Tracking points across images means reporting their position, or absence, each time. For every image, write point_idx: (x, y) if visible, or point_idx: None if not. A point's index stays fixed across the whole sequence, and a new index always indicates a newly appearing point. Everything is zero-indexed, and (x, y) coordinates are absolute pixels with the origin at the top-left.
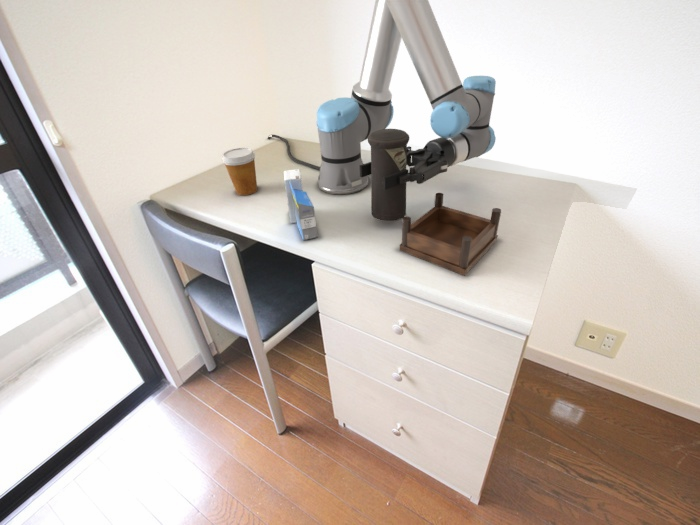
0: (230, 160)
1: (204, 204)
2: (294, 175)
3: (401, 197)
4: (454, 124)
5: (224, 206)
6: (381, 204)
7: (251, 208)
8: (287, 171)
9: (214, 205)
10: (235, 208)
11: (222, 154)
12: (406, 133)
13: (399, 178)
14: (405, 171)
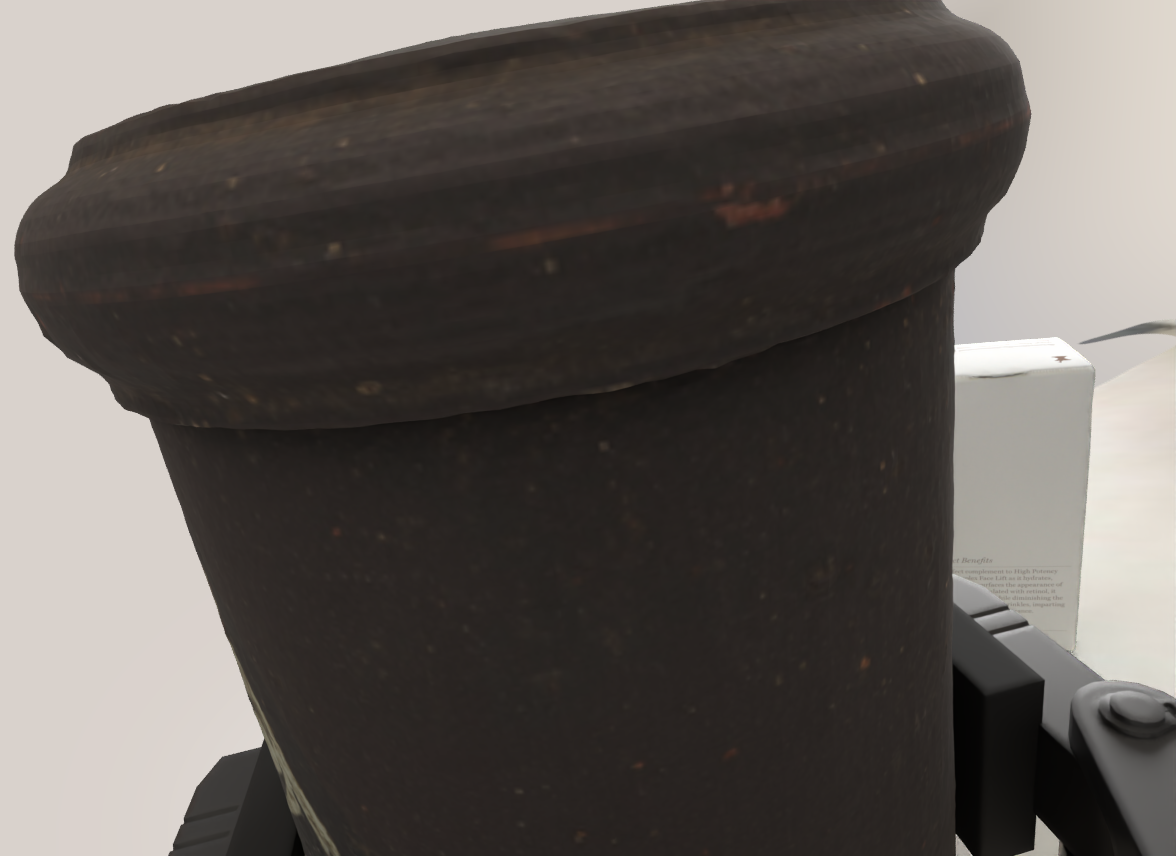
0: None
1: (1147, 397)
2: (958, 360)
3: None
4: None
5: (1130, 432)
6: None
7: (1111, 488)
8: (1042, 342)
9: (1139, 414)
10: (1108, 454)
11: None
12: (171, 107)
13: (241, 760)
14: (235, 848)
